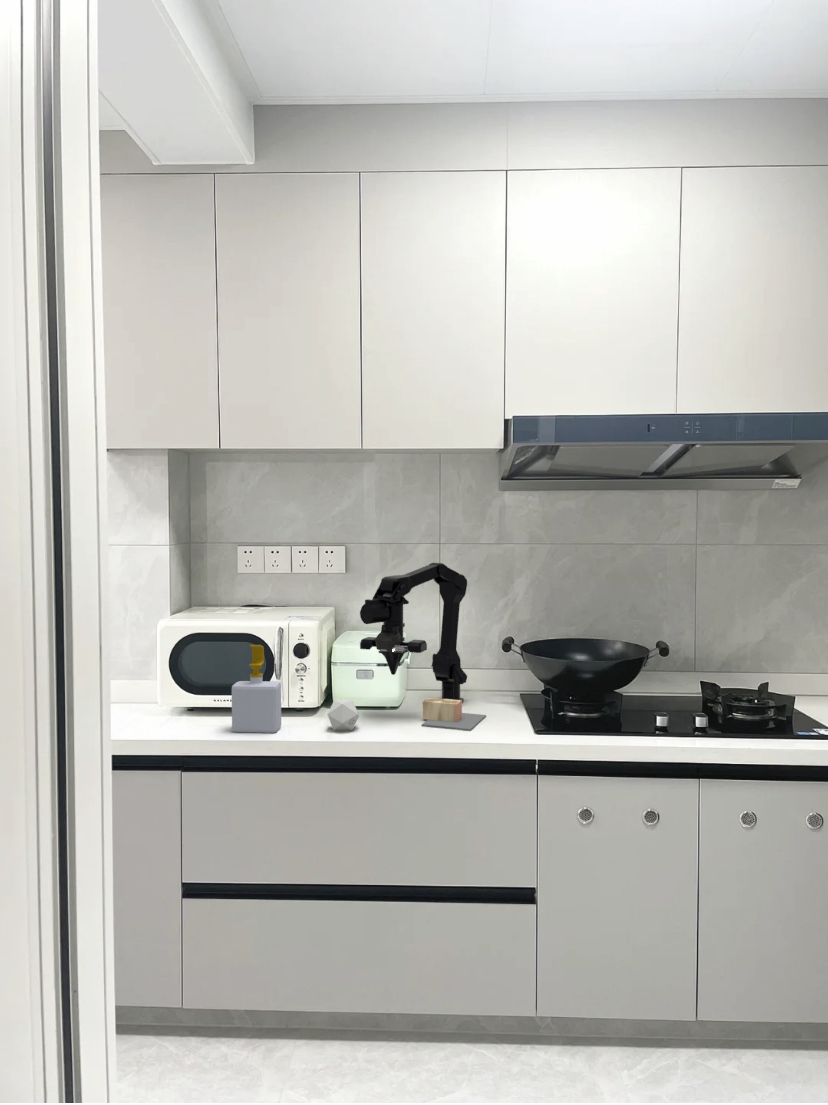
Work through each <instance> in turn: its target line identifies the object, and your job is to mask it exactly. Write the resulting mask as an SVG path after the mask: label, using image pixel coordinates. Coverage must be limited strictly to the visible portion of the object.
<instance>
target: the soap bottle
mask: <svg viewBox="0 0 828 1105" xmlns="http://www.w3.org/2000/svg"><path fill="white" fill-rule="evenodd" d="M249 647H250V648H251V653H252V654H251V657H252V658H251V663H249V664H248V666H249V667H250V669H252V672H251V673H250V674H249V680H240V681H237V682H235V683H234V684H232V686H231V730H232V732H233V733H254V734H255V733H264V734H268V733H269V734H273V733H274V734H275V733H277V732H278V731H279V730H280V728H282V684H281V682H280V681H266V680H265V681H263V676H264V675H263V673H262V672H260V669H262V667H263V666H262V665H264V664H265V648H264V646H263V645H261V644H249Z"/></svg>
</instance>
